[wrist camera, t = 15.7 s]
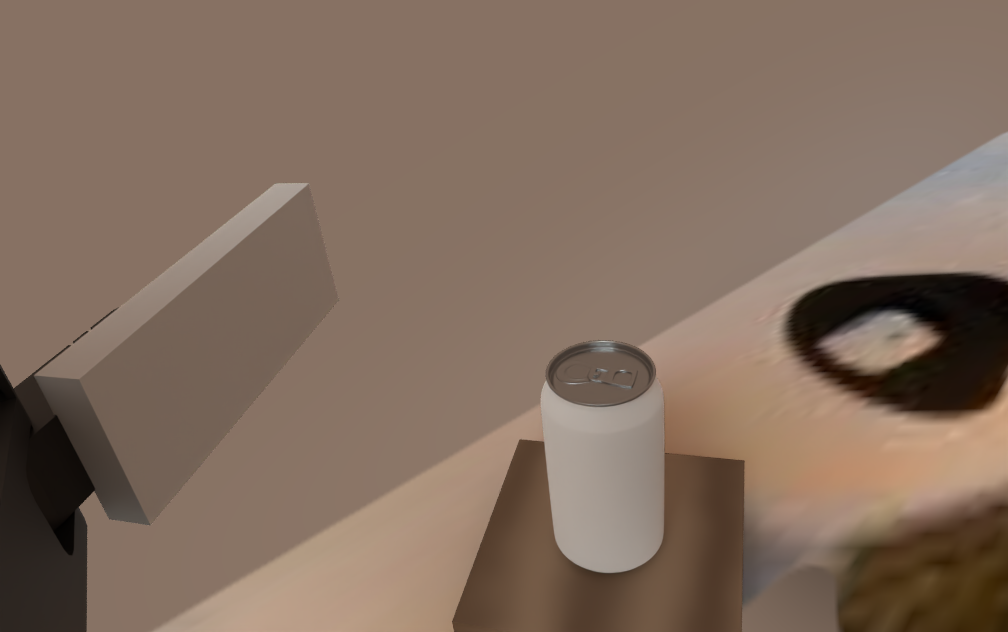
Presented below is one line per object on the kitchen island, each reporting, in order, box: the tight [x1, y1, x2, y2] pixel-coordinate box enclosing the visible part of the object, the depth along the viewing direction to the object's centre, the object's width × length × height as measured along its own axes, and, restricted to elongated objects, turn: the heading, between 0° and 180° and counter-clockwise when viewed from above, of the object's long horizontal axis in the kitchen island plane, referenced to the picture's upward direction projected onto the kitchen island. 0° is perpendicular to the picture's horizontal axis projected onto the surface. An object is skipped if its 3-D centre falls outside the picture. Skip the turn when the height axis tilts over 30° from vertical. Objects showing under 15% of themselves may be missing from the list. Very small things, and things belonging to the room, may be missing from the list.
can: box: [541, 340, 664, 573], centre depth 43 cm, size 6×6×12 cm
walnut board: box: [452, 440, 744, 632], centre depth 47 cm, size 15×15×3 cm
